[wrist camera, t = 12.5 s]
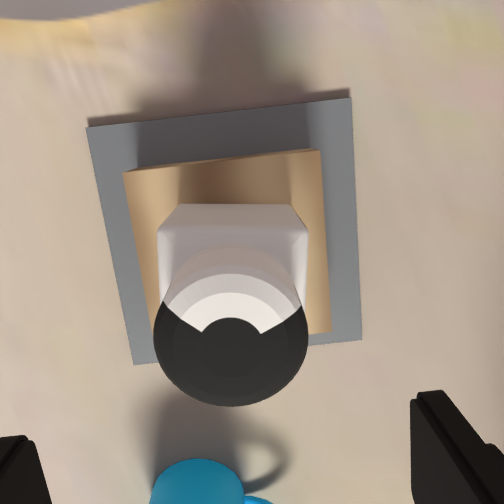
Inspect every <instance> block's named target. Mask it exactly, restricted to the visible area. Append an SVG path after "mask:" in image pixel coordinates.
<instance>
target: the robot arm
mask: <svg viewBox="0 0 504 504" xmlns="http://www.w3.org/2000/svg"><path fill="white" fill-rule="evenodd" d="M410 437H411V490H412V496H413V500H414V503H415V504H504V455H503V453H502V452H501V451H500V450H499V449H498V448H497V447H496V446H495V445H493V444H491V443H489V444H485V443H484V441H483V440H482V439H481V438H480V436H479V435H478V434H477V433H476V431H475V430H474V429H473V428H472V426H471V425H470V424H469V422H468V421H467V420H466V419H465V417H464V416H463V415H462V414H461V412H460V411H459V410H458V408H457V407H456V406H455V405H454V403H453V402H452V401H451V400H450V398H449V397H448V396H447V395H446V393H445V392H444V391H443V390H435V391H426V392H419V393H418V394H417V399H412V400H411V401H410ZM0 504H52V502H51V498H50V495H49V491H48V488H47V484H46V481H45V477H44V474H43V470H42V467H41V463H40V460H39V456H38V453H37V449H36V446H35V443H34V442H33V441H31V440H28V438H27V437H26V436H25V435H18V436H9V437H1V438H0Z"/></svg>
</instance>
